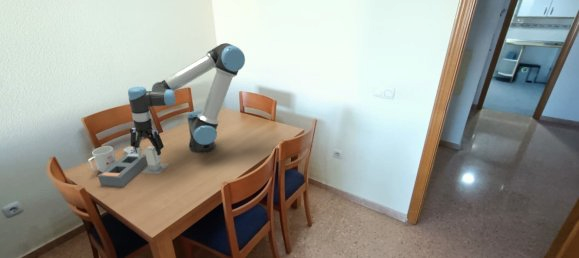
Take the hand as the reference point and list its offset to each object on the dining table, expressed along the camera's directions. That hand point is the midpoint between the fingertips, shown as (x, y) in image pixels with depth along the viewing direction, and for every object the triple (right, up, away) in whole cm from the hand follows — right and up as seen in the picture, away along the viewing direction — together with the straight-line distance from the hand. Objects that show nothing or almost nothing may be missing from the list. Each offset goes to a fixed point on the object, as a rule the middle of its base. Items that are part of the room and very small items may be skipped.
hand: (149, 159), depth 139 cm
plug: (+2, -5, +2) cm, 6 cm away
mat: (+2, -6, +2) cm, 6 cm away
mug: (-24, -6, +1) cm, 24 cm away
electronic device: (-18, +1, +16) cm, 24 cm away
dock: (-11, -8, -2) cm, 13 cm away
